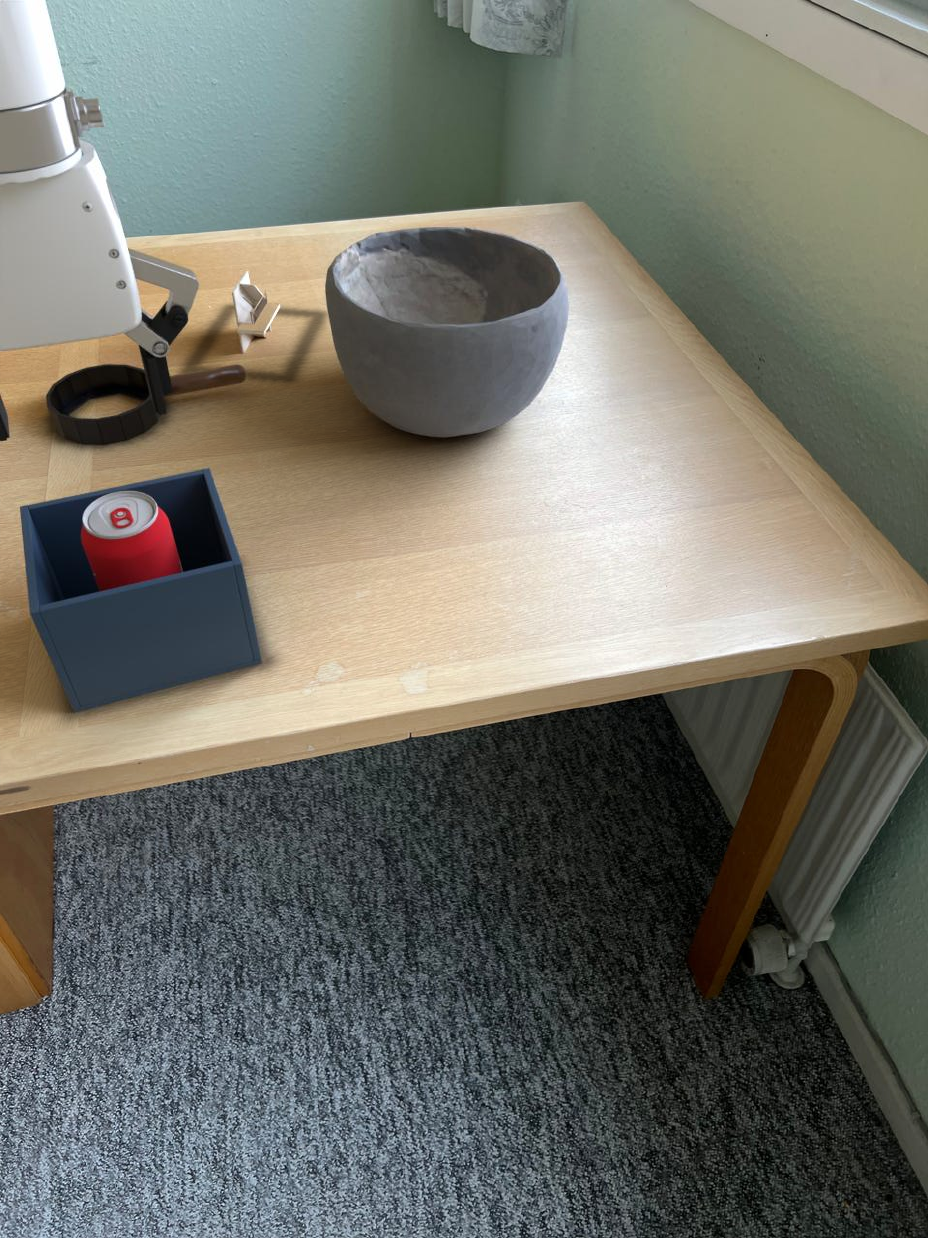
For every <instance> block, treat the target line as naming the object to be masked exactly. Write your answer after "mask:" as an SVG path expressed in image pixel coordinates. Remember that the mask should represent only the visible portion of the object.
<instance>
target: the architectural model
mask: <svg viewBox="0 0 928 1238" xmlns="http://www.w3.org/2000/svg"><path fill="white" fill-rule="evenodd" d="M231 296H232V302H233V308H234V314H235V319H236V327H237V328H236V333H237V334H238V338H239V344H240V345H239V346H240V350H241V354H245V352H246V350H247V348H248V347H249V345H250V344H251V343H252V340H253V339H254V338H255V337H260V338H264V339H267V332H269V333H270V332H272V327H271V324H272V322H273V320H274V318H275V317H276V315H277V313H278V311H279V310H280V308H281V304H280V303H273V302H269V300H268V292H267V290H264V293H262V292H261V290H260V289H259V288H258V287H257V286H256V284H253V283H251V280H250V273H249V270H245V271H244V273H243V274H242V276H241V278H240V279H239V281H238V282H237V284H236V286H235V287H234V288H233V290H232V291H231Z"/></svg>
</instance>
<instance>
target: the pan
mask: <svg viewBox="0 0 928 1238" xmlns="http://www.w3.org/2000/svg"><path fill="white" fill-rule="evenodd" d="M247 378H248V371H247V369H246V368H245V367H244V366H243V365H242V364H231V365H225V366H219V367H213V368H208V369H202V370H196V371H191V372H185V373H179V374H174V375H170V379H171V383H172V388H173V394H170V395H164V396H163V397H164V398H167V397H172V396H178V395H179V396H180V395H184V394H190V393H195V392H201V391H206V390H212V389H217V388H222V387H228V386H229V387H230V386H233V385H234V386H235V385H239V384H243V383H244V382H245V381H246V380H247ZM118 395H119V396H120V395H121V396H124V397H127V398H132V399H135V400H139V401H142V402H141V403H140V404H138V405H137V406H135V407H133V408H131V409H128V410H125V411H123V412H121V413H119V414H114V415H109V416H104V417H98V418H93V417H92V418H91V417H88V418H87V417H74V416H71V414H72V413H74V412H75V411H77V410H78V409H79V408H80V407H82V406H83V405H85V404H86V403H87V402H88V401H90V400H96V399H100V398H106V397H112V396H118ZM45 400H46V407H47V409H48V412H49V416H50V418H51V421H52V424H53V427H54V430H55V432H56V433H57V434H59V435H60V436H61V437H62V438H63V439H64V440H66V441H69V442H72V443H76V444H79V445H83V446H107V445H112V444H118V443H123V442H126V441H130V440H132V439H134V438H136V437H139V436H141V435H143V434H145V433H147V432H148V431H149V430H150V429H151V428H153V427H154V426H155V425H157V424H158V422H159V421H160V418H161V416H162V415H159V413H155V410H154V406H153V403H152V400H151V396H150V393H149V388H148V384H147V380H146V375H145V371H144V368H141V367H138V366H134V365H131V364H130V365H129V364H120V363H118V364H117V363H106V364H105V363H104V364H99V365H98V364H97V365H93V366H87V367H84V368H81V369H78V370H76V371H73V372H70V373H67V374H65V375H64V376H63V377H61V378H60V379H59V380H57V381H56V382H54V383H53V384H52V385H51V387H50V388H49V390H48V391H47V393H46V394H45Z"/></svg>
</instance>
